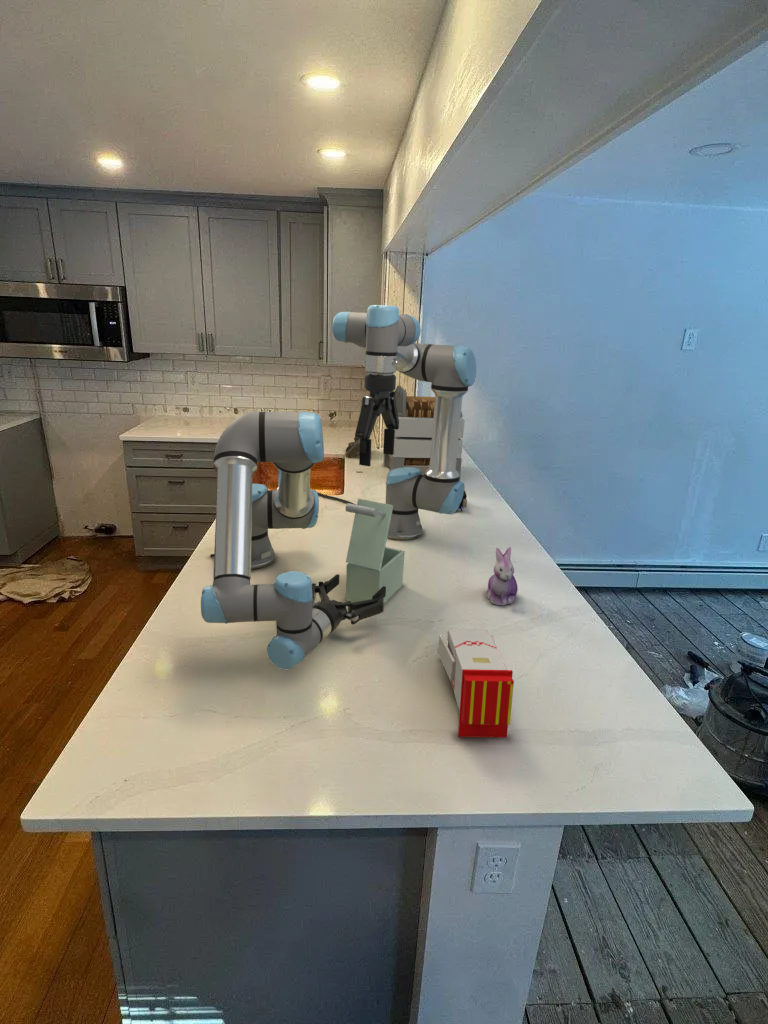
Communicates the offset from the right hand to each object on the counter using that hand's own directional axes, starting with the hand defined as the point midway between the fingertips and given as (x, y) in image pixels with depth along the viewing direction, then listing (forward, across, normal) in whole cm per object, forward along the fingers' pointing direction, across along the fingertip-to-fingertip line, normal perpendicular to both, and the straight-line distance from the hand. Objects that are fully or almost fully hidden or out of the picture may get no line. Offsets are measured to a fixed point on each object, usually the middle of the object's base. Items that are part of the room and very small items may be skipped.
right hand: (377, 459), depth 143 cm
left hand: (+32, -7, 0) cm, 33 cm away
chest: (+39, +2, 0) cm, 39 cm away
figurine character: (+39, +84, +3) cm, 92 cm away
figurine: (+39, +16, -32) cm, 53 cm away
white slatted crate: (+39, +123, +35) cm, 133 cm away
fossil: (+39, +139, +78) cm, 164 cm away
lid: (+19, -2, 0) cm, 20 cm away
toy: (+39, -27, -36) cm, 60 cm away
